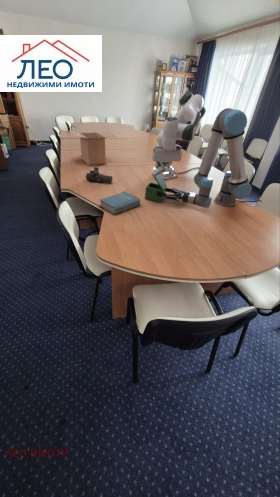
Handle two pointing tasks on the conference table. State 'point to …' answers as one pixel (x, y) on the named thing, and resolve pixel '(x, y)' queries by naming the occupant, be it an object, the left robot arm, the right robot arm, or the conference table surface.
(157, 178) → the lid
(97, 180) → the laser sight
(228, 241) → the conference table surface
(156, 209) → the conference table surface
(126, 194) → the book
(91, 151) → the box
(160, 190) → the chest
